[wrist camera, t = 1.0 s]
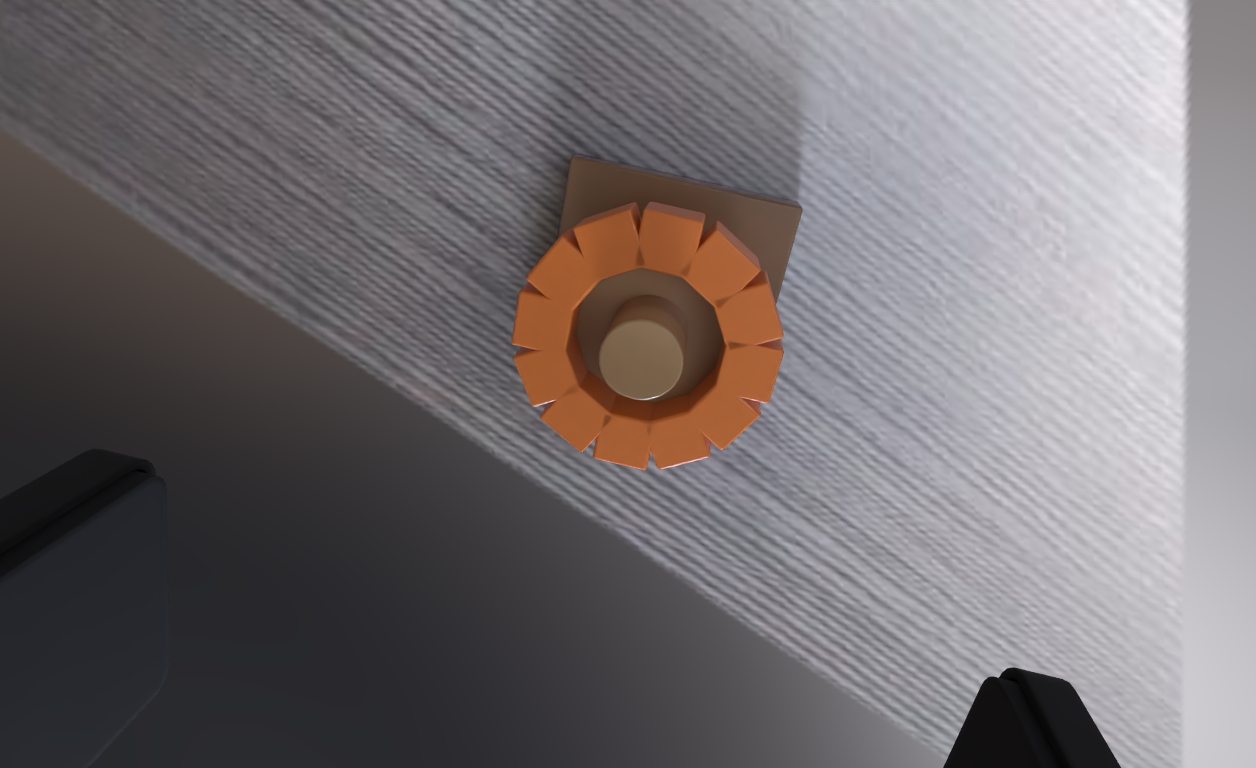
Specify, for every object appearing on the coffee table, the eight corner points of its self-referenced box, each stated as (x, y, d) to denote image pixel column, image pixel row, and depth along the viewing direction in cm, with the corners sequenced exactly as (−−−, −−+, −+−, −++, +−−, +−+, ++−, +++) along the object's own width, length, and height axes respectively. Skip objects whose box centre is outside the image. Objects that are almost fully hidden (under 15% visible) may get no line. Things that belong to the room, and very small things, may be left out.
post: (577, 153, 24) (517, 178, 17) (800, 202, 24) (831, 247, 17) (541, 361, 27) (476, 458, 20) (742, 408, 27) (749, 522, 20)
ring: (547, 178, 20) (534, 184, 18) (808, 235, 19) (814, 246, 18) (509, 416, 22) (496, 437, 21) (741, 470, 22) (742, 494, 20)
